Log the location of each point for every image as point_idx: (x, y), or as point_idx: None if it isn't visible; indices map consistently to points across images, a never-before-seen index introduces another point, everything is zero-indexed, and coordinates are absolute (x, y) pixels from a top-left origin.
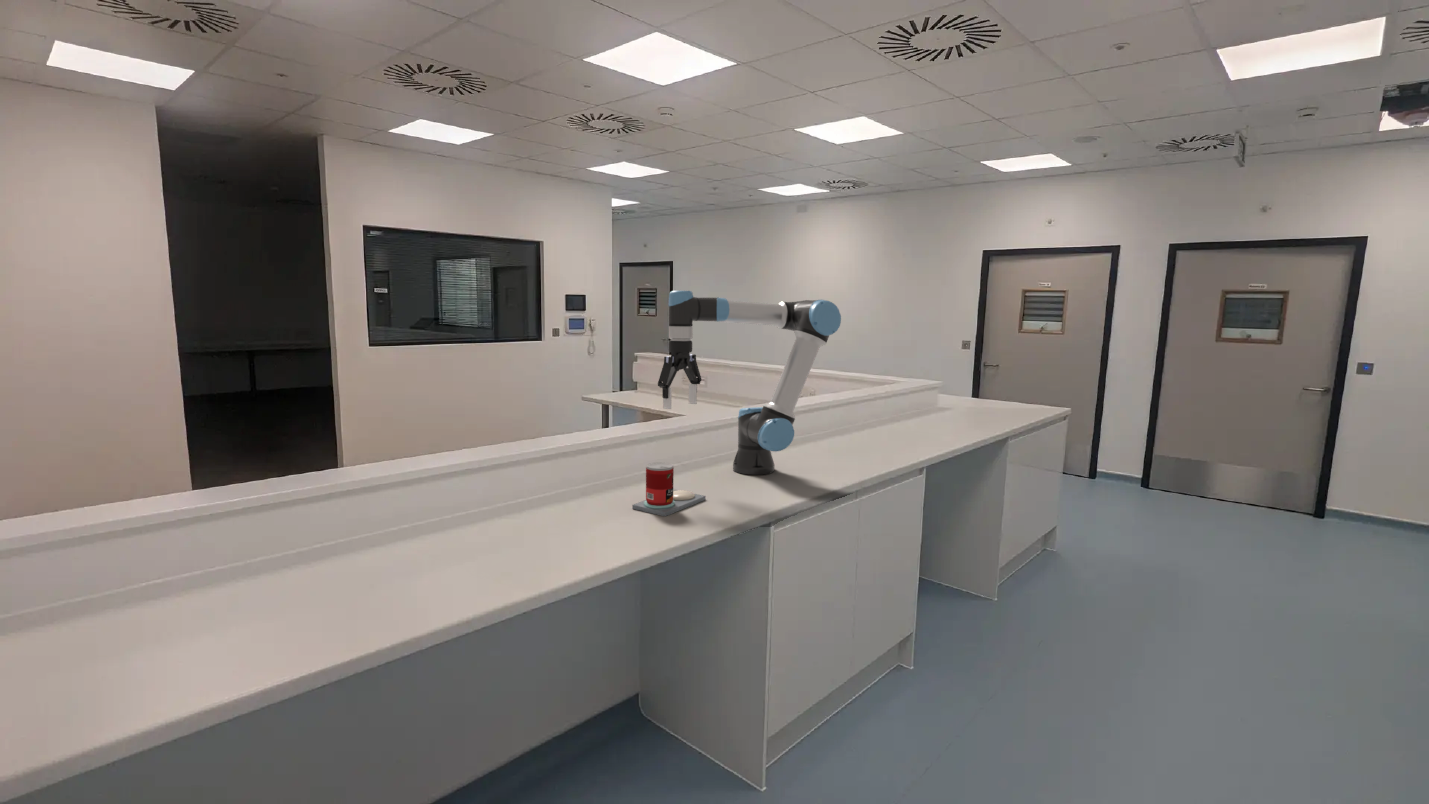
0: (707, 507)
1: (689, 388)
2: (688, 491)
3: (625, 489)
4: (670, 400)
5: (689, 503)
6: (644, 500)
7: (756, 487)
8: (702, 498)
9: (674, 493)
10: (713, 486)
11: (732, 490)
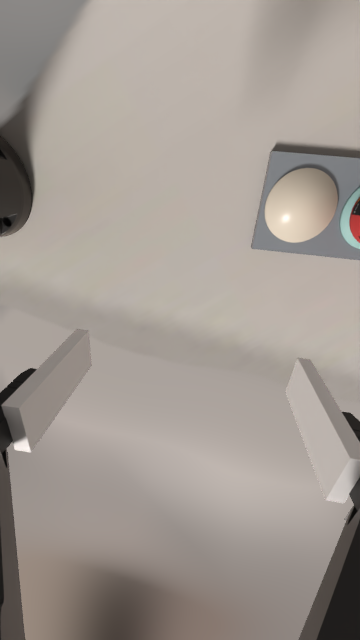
0: (331, 108)
1: (48, 421)
2: (268, 202)
3: (264, 339)
4: (323, 389)
5: (339, 157)
6: (355, 259)
7: (106, 84)
8: (284, 152)
9: (297, 223)
10: (160, 197)
11: (165, 133)
